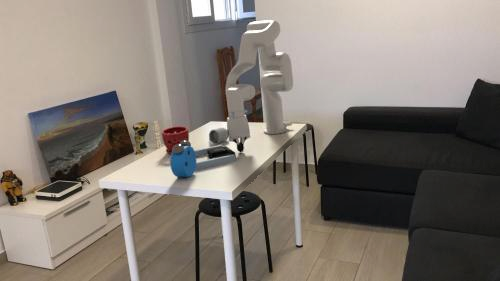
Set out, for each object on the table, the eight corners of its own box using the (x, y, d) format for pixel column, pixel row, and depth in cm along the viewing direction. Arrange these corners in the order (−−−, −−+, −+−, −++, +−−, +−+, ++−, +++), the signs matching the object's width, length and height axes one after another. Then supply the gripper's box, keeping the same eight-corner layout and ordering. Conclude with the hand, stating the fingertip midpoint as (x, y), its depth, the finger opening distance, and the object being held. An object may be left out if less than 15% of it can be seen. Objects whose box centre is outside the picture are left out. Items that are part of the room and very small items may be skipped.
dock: (222, 150, 223) (221, 144, 222) (235, 161, 205) (235, 154, 204) (185, 158, 217) (184, 152, 216) (196, 169, 199) (195, 163, 198)
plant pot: (159, 154, 227) (156, 131, 224) (180, 147, 236) (176, 125, 233) (175, 158, 218) (172, 134, 215) (196, 150, 227) (193, 127, 224)
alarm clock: (185, 170, 199) (180, 138, 195) (198, 170, 197) (194, 137, 193) (172, 181, 187) (167, 147, 183) (186, 182, 185) (180, 147, 181)
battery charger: (208, 157, 215) (206, 149, 214) (226, 153, 218) (225, 145, 217) (216, 165, 203) (215, 156, 202) (236, 160, 207) (235, 152, 206)
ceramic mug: (230, 140, 238) (228, 126, 236) (219, 145, 233) (217, 130, 231) (216, 139, 245) (214, 125, 243) (205, 143, 239) (203, 129, 237)
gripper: (248, 110, 216) (252, 146, 221) (219, 115, 212) (223, 152, 217) (254, 112, 210) (258, 150, 215) (223, 118, 205) (228, 156, 210)
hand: (240, 151), depth 216 cm, fingers closed
